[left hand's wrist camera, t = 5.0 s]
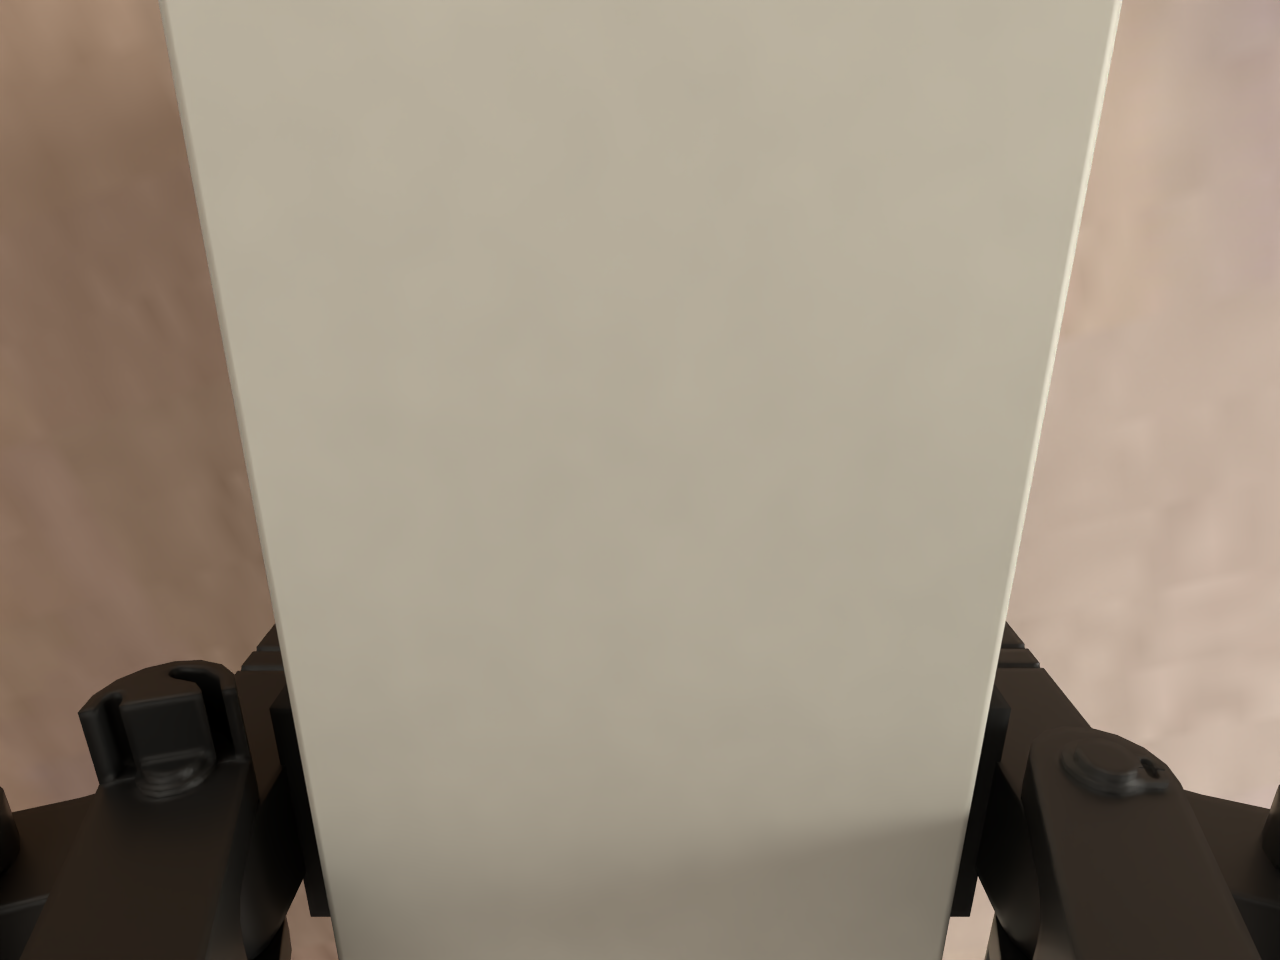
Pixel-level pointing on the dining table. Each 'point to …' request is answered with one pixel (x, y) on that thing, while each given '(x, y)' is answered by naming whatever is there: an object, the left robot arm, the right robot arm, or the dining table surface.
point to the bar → (640, 443)
